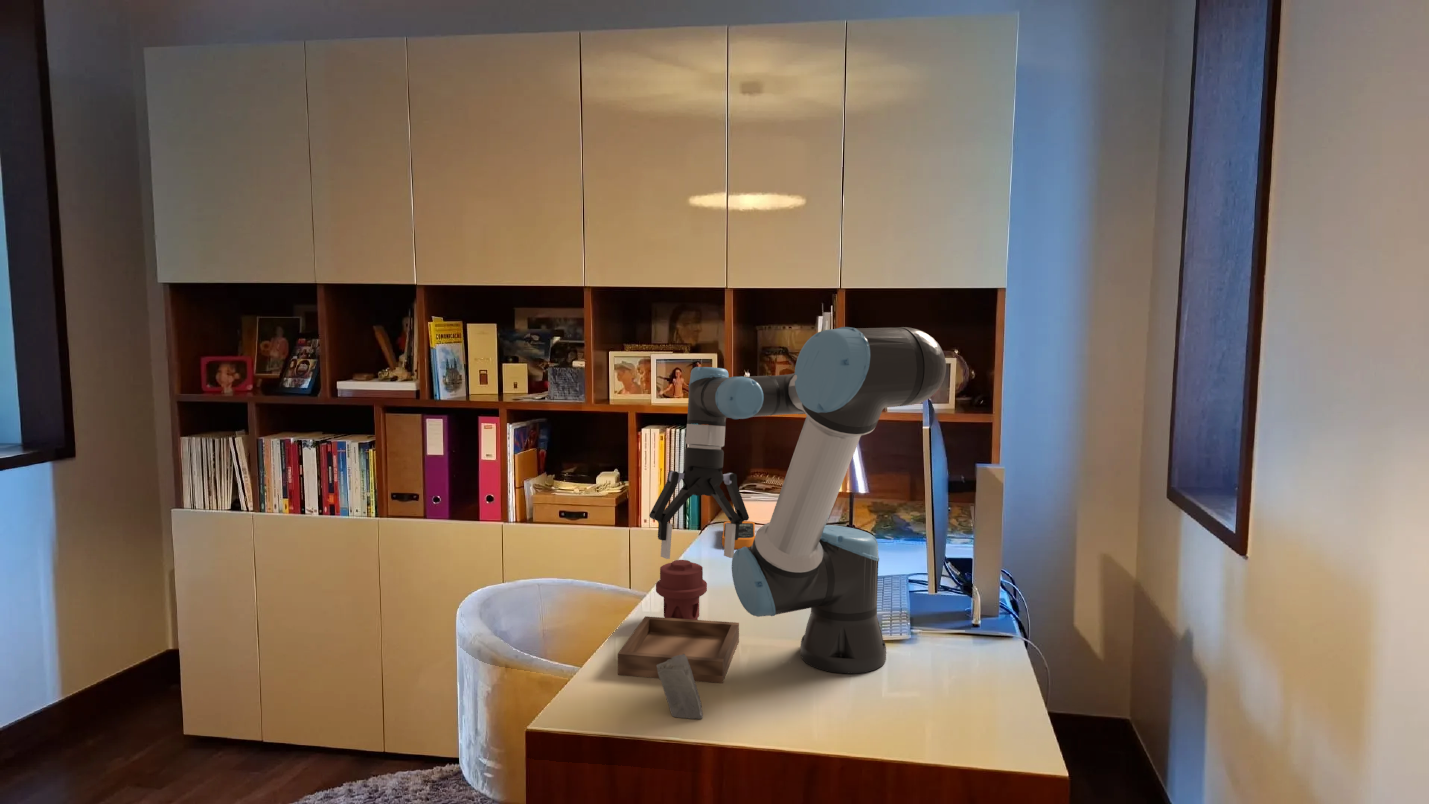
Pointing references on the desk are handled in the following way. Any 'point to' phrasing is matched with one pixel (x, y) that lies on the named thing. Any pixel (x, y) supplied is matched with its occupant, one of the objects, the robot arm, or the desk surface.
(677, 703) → the mineral specimen
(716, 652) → the walnut tray
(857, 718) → the desk surface
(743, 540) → the multimeter
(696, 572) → the mechanical component
